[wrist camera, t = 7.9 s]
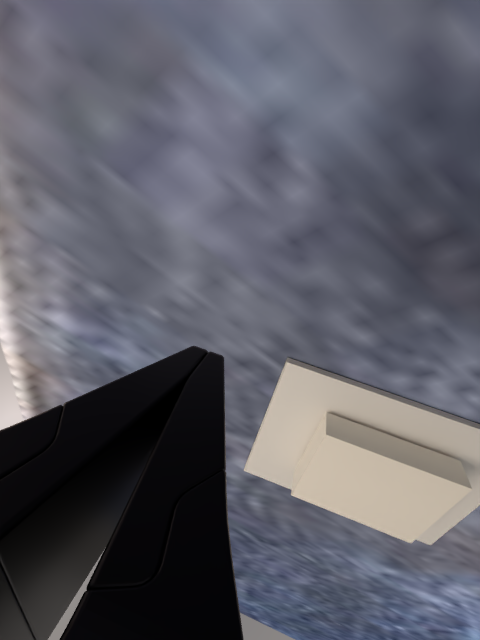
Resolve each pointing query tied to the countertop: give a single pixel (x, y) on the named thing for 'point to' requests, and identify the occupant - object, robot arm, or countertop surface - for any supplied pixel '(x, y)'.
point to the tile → (377, 478)
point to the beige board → (365, 409)
